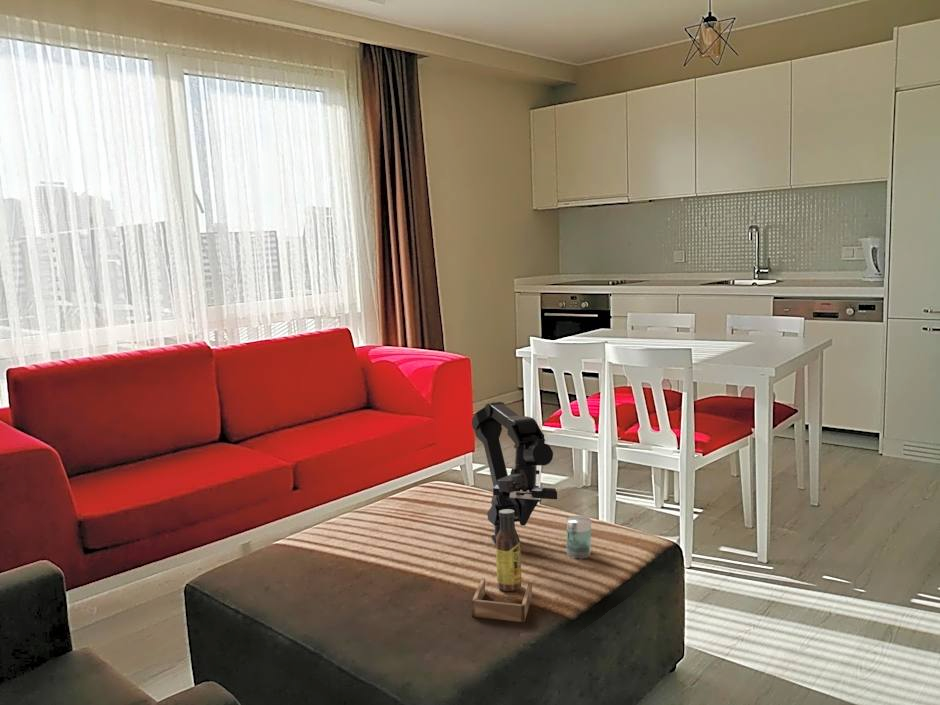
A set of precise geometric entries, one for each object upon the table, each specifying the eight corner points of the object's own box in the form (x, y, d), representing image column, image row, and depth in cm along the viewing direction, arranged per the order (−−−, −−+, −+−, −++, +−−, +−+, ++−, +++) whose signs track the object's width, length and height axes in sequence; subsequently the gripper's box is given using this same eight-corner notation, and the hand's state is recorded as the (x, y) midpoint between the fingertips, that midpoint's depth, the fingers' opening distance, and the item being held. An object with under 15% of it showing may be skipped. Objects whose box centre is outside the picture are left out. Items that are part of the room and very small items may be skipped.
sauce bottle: (519, 593, 197) (516, 515, 195) (495, 591, 199) (492, 515, 196) (523, 582, 204) (521, 507, 201) (499, 581, 205) (496, 507, 203)
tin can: (563, 550, 223) (563, 516, 221) (585, 547, 224) (586, 514, 223) (571, 560, 217) (571, 526, 215) (594, 558, 218) (595, 523, 216)
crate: (482, 592, 199) (482, 578, 198) (531, 598, 196) (531, 583, 195) (471, 616, 187) (471, 600, 187) (524, 622, 185) (524, 606, 184)
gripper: (479, 463, 212) (476, 522, 209) (530, 464, 198) (527, 527, 196) (509, 465, 219) (506, 522, 217) (559, 467, 206) (557, 528, 203)
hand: (522, 525), depth 208 cm, fingers closed
